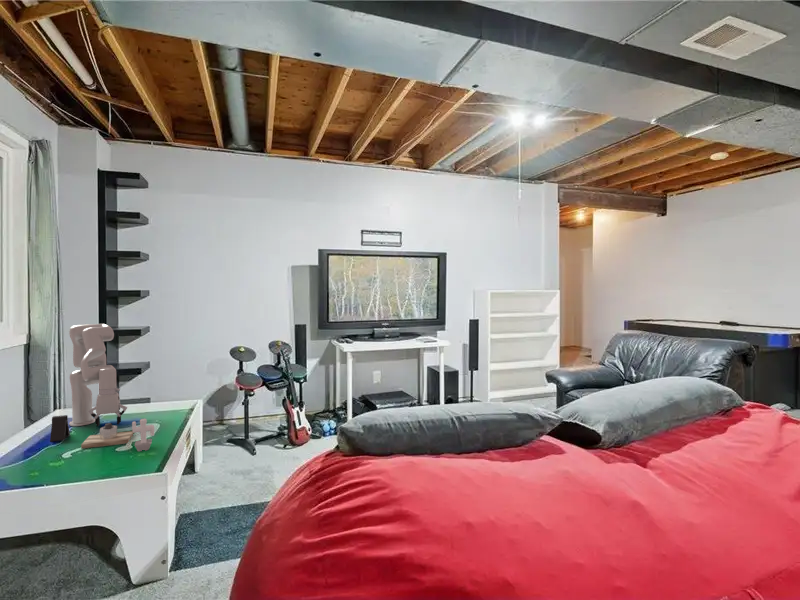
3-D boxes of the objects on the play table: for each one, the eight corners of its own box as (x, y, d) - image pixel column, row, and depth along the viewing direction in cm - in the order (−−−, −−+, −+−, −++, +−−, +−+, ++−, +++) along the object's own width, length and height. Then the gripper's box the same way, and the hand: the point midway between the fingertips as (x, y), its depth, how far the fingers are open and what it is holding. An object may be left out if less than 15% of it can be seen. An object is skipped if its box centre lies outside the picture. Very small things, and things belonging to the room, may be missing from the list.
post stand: (89, 439, 227) (89, 422, 227) (133, 434, 234) (133, 418, 234) (81, 448, 214) (81, 430, 214) (127, 443, 221) (127, 426, 221)
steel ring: (102, 435, 226) (102, 426, 226) (118, 434, 229) (117, 424, 229) (98, 440, 220) (98, 430, 220) (114, 438, 222) (114, 428, 222)
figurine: (154, 450, 212) (153, 420, 212) (131, 453, 208) (131, 422, 208) (154, 445, 219) (154, 416, 218) (133, 448, 215) (132, 418, 214)
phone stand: (63, 440, 225) (63, 417, 225) (49, 441, 223) (49, 419, 222) (70, 434, 233) (69, 413, 233) (56, 436, 231) (56, 414, 231)
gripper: (128, 388, 230) (129, 420, 231) (90, 391, 224) (90, 424, 224) (125, 391, 223) (126, 424, 224) (85, 394, 217) (86, 428, 217)
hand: (108, 424), depth 224 cm, fingers open, 8 cm apart
